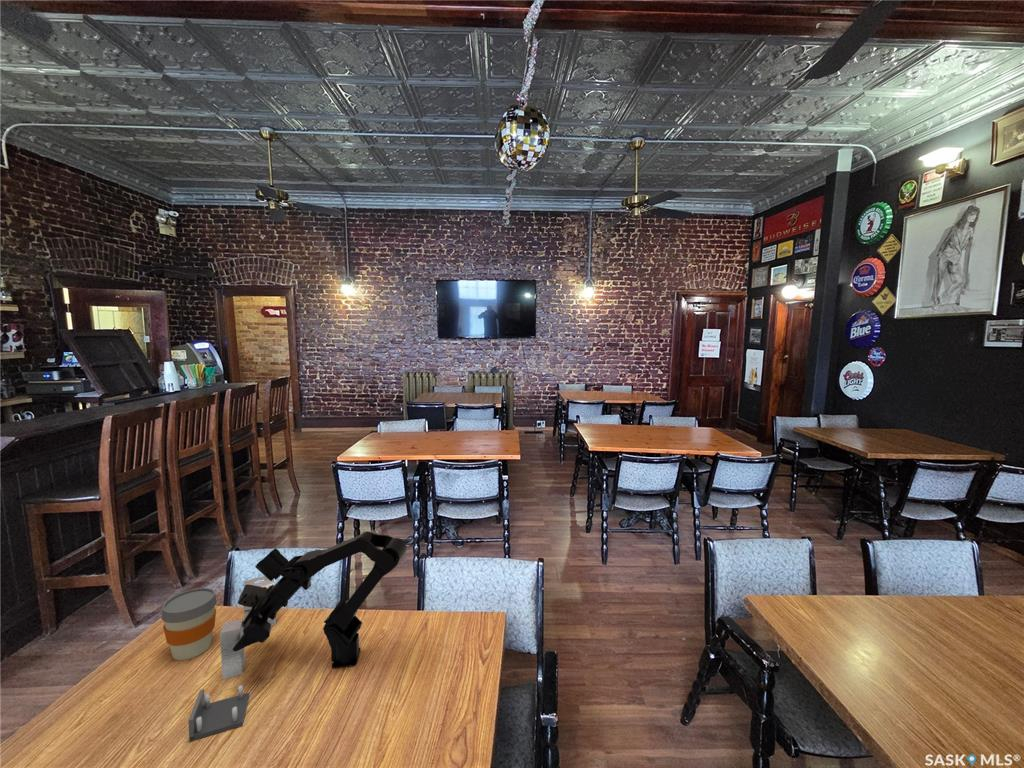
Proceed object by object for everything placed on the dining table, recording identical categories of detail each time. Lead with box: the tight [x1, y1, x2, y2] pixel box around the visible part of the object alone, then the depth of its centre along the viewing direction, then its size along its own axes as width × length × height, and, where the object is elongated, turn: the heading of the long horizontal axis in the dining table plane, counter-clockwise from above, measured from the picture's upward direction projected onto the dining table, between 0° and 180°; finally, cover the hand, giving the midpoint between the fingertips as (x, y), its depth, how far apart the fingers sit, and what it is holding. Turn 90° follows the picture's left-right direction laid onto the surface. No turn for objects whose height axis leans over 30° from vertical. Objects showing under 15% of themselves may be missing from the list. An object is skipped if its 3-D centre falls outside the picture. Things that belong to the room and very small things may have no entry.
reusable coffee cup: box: [161, 587, 218, 661], centre depth 120 cm, size 13×13×15 cm
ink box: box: [243, 575, 277, 627], centre depth 130 cm, size 8×5×15 cm, turn 123°
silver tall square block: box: [219, 618, 246, 680], centre depth 112 cm, size 4×4×13 cm
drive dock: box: [187, 684, 250, 742], centre depth 98 cm, size 10×9×5 cm
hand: (237, 639), depth 112 cm, fingers open, 9 cm apart
